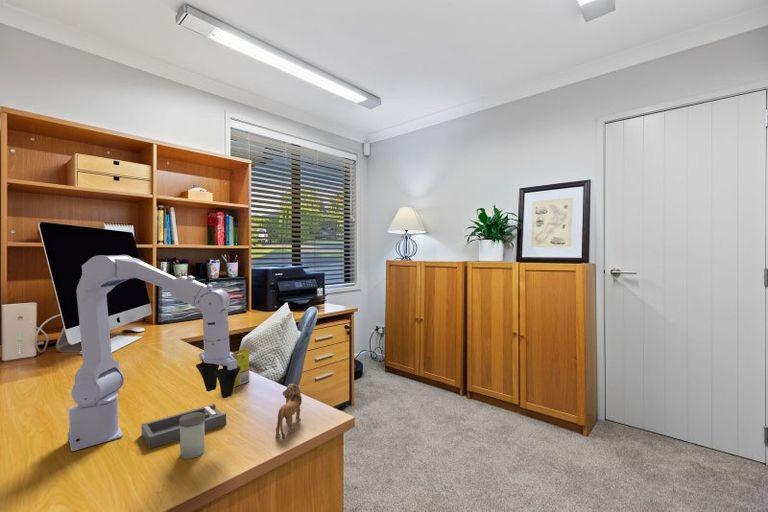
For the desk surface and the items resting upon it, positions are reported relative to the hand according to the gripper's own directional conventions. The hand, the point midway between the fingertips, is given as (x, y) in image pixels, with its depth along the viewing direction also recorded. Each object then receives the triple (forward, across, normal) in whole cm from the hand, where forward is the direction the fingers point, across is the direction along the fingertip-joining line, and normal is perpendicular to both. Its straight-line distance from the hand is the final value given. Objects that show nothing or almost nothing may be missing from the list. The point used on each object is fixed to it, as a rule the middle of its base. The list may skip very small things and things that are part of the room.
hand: (219, 393), depth 90 cm
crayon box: (+10, +27, -20) cm, 35 cm away
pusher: (+8, +8, +1) cm, 12 cm away
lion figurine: (+10, -11, -12) cm, 19 cm away
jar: (+10, -4, +9) cm, 14 cm away
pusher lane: (+9, +8, +5) cm, 13 cm away
